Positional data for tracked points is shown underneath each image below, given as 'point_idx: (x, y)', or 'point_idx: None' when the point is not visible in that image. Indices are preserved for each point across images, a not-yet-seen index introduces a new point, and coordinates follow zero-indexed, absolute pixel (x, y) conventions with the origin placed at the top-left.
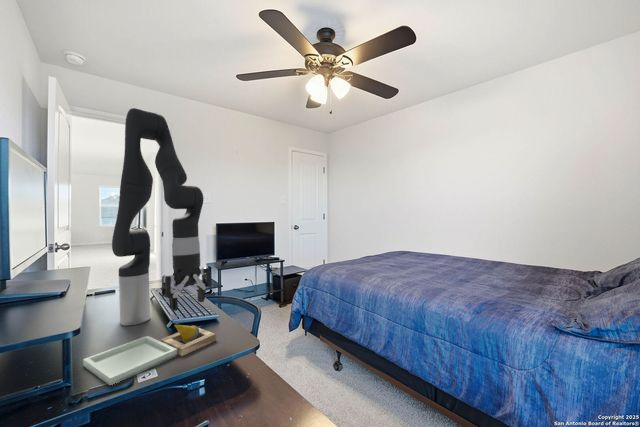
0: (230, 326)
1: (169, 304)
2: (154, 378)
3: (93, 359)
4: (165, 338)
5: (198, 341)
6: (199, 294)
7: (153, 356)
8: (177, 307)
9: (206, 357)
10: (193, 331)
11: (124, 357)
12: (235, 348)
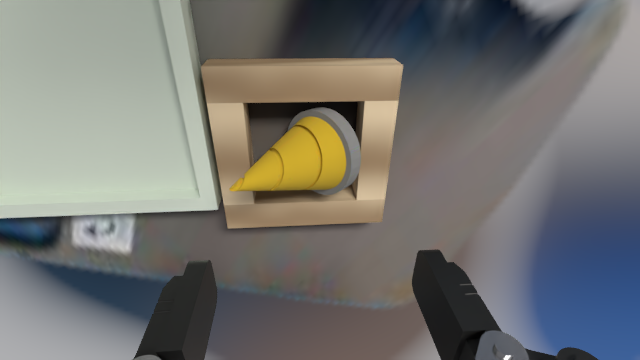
0: (508, 149)
1: (155, 308)
2: (117, 257)
3: None
4: (223, 79)
5: (301, 224)
6: (437, 315)
7: (143, 151)
8: (212, 314)
9: (278, 269)
10: (318, 189)
11: (25, 47)
12: (363, 286)
